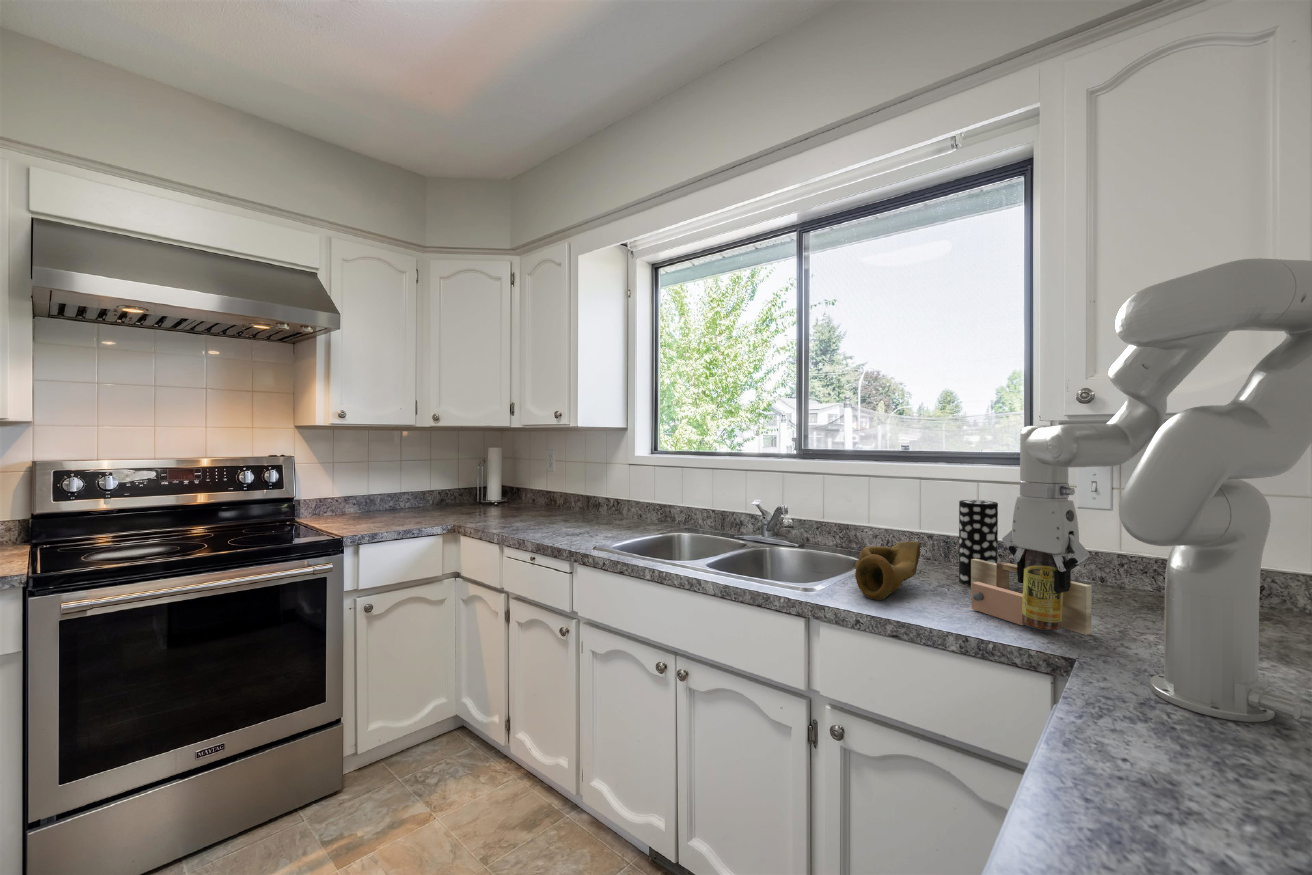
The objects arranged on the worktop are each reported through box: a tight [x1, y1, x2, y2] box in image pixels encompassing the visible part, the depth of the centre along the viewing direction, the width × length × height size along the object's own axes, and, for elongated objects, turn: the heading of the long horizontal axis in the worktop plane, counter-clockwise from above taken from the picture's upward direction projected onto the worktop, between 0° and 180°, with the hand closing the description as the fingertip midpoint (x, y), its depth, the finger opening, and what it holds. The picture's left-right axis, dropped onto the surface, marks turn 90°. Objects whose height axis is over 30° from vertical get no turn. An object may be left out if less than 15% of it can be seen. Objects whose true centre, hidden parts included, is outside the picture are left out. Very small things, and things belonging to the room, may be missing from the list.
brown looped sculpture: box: [854, 540, 921, 601], centre depth 139 cm, size 18×13×22 cm
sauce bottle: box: [1022, 550, 1063, 631], centre depth 109 cm, size 6×6×20 cm
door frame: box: [970, 559, 1093, 636], centre depth 118 cm, size 24×2×10 cm, turn 22°
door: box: [971, 582, 1027, 626], centre depth 116 cm, size 11×3×6 cm, turn 22°
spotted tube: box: [958, 499, 999, 587], centre depth 142 cm, size 8×8×20 cm
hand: (1042, 585), depth 108 cm, fingers closed on sauce bottle, 6 cm apart
